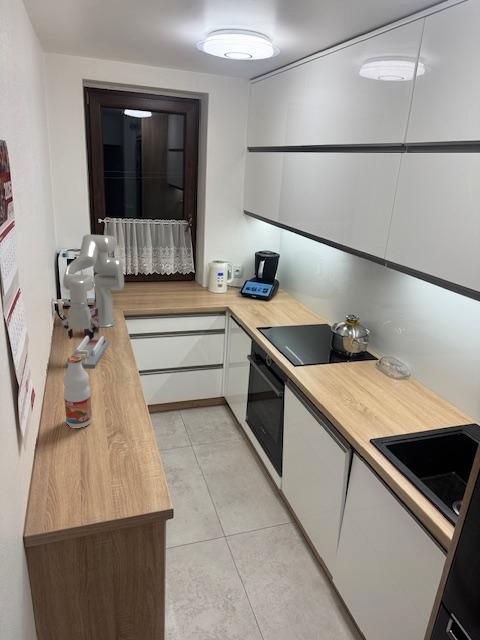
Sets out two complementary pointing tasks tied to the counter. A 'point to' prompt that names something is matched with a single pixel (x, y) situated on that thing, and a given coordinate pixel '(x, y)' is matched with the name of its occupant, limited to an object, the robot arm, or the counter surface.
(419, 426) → the counter surface
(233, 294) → the counter surface
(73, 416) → the fruit juice
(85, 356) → the maple block
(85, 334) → the supplement box
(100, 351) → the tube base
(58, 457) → the counter surface
